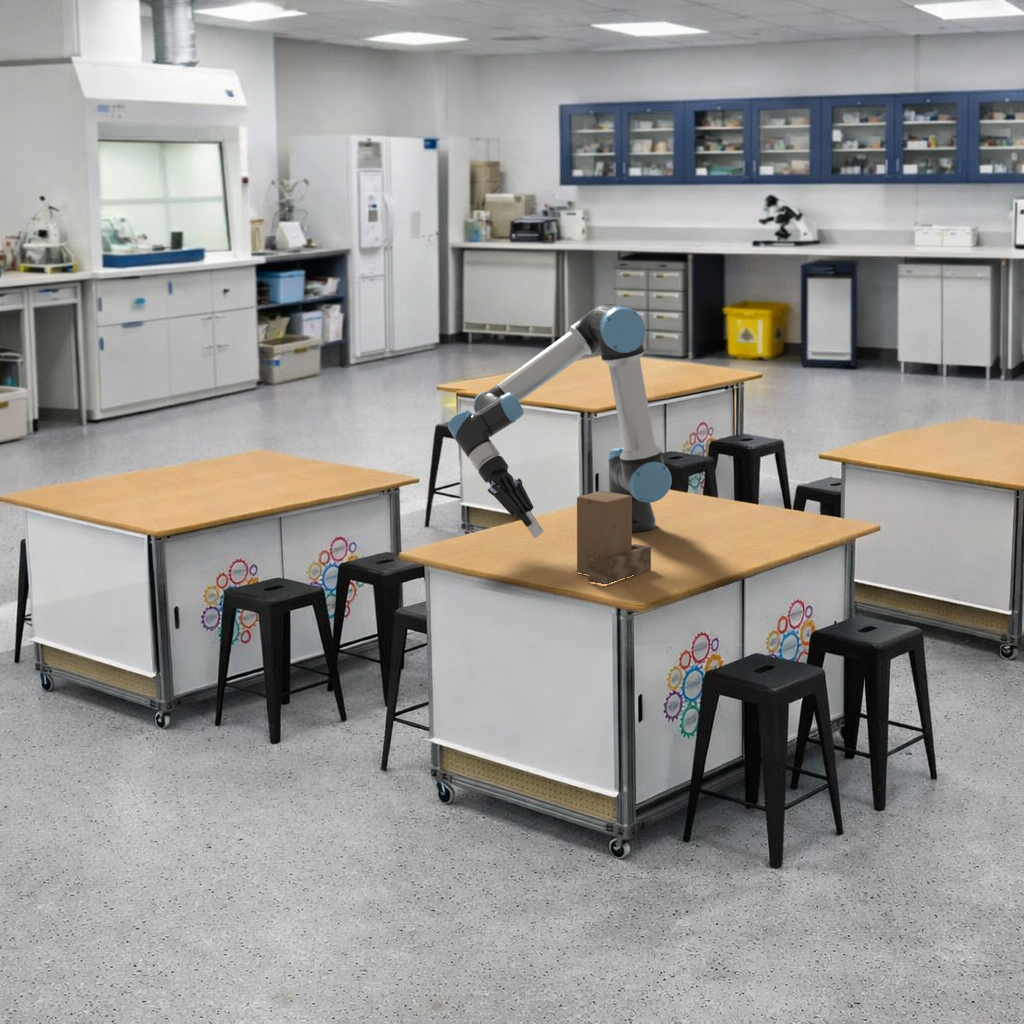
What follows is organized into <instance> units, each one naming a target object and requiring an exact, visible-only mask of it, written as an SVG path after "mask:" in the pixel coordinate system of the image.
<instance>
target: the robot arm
mask: <svg viewBox="0 0 1024 1024" xmlns="http://www.w3.org/2000/svg"><path fill="white" fill-rule="evenodd" d="M646 331H647V330H646V324H645V321H644V320H643V318H642V316H641V315H640V314H639V313H638V312H637V311H635V310H634V309H633V308H630V307H629V306H625V305H617V304H615V303H604V304H601V305H598V306H596V307H594V308H592V309H591V310H590V311H588V312H587V313H586V314H585V315H584V316H582V317H581V318H579V319H578V320H577V321H576V322H575V323H573V324H571V325H570V326H569V331H568V332H567V333H566V334H563V336H562V337H560V338H558V339H557V340H556V341H555V342H553V343H552V344H551V345H549V346H548V347H546V348H545V349H544V350H542V351H541V352H540V353H537V355H536V356H534V357H533V358H531V359H530V360H529V361H528V362H526V363H524V364H523V365H522V366H520V367H519V368H518V369H517V370H515V371H514V372H512V373H511V374H510V375H509V376H507V377H505V378H504V379H503V380H502V381H500V382H499V383H498V384H496V385H495V386H494V387H492V388H490V389H489V390H488V391H483V392H480V393H478V394H477V395H476V396H475V397H474V400H473V404H472V407H473V410H474V412H475V413H473V412H471V411H470V410H466V409H465V410H462V411H461V412H460V411H459V412H458V413H456V414H455V415H453V416H452V417H451V419H450V420H449V421H448V425H447V429H448V430H449V432H450V433H451V435H452V437H453V438H454V441H455V442H456V443H457V445H459V447H460V449H461V450H462V452H464V454H465V455H466V458H468V459H469V461H470V462H471V464H472V465H473V467H474V468H475V470H477V471H478V474H479V475H480V477H481V478H482V480H483V482H485V483H489V485H490V487H489V488H488V489H487V492H488V493H489V494H491V495H492V496H493V497H494V498H495V499H496V500H497V501H498V503H499V504H501V506H502V507H503V508H504V509H505V510H506V511H507V512H508V513H509V515H511V516H512V517H514V518H515V519H516V520H519V519H520V520H521V522H522V523H523V524H524V526H525V527H526V529H528V531H529V533H530V534H531V535H532V536H533V538H534V539H535V538H538V537H539V536H540V535H542V534H543V533H544V532H545V531H544V529H543V527H542V526H541V525H540V523H539V522H538V521H537V519H536V517H535V516H534V514H533V513H532V510H533V509H534V508H535V507H534V505H533V504H532V501H531V500H530V497H529V495H528V493H527V491H526V489H525V487H524V485H523V481H522V479H521V478H519V477H518V479H515V478H514V477H513V476H512V475H511V474H510V473H509V471H508V470H509V465H508V463H507V462H506V460H505V459H504V457H503V456H501V454H500V451H499V450H498V449H497V448H496V446H495V445H494V443H493V442H492V441H491V439H490V438H491V437H493V436H494V435H496V434H498V433H499V432H500V431H502V430H504V429H506V428H507V427H509V426H510V425H512V424H514V423H516V421H517V420H519V419H520V418H522V417H523V415H524V412H525V411H524V409H523V407H522V405H521V402H522V401H523V400H524V399H526V398H527V397H528V396H530V395H531V394H532V393H534V392H535V391H537V390H538V389H539V388H541V387H542V386H544V385H545V384H546V383H548V382H549V381H551V380H552V379H553V378H554V377H556V376H557V375H559V374H560V373H561V372H563V371H564V370H565V369H566V368H568V367H569V366H571V365H572V364H574V363H575V362H576V361H578V360H579V359H581V358H582V357H583V356H585V355H592V354H593V353H595V352H596V351H600V357H601V360H602V362H604V363H605V364H606V365H608V369H609V375H610V380H611V386H612V390H613V396H614V397H613V398H614V401H615V402H614V403H615V407H616V413H617V418H618V423H619V424H618V425H619V429H620V435H621V440H622V446H621V447H614V448H611V449H610V451H609V452H608V453H609V454H608V460H607V461H608V492H612V493H618V494H624V495H630V496H632V533H640V532H647V531H650V530H653V529H655V528H656V516H655V514H654V511H653V508H652V507H653V506H652V504H651V503H656V502H658V501H660V500H662V499H663V498H665V496H666V495H667V494H668V493H669V491H670V489H671V486H672V474H671V472H670V470H669V467H668V466H666V465H665V462H664V457H663V451H662V448H661V447H660V446H658V445H657V444H656V442H655V436H654V431H653V426H652V420H651V413H650V409H649V403H648V397H647V392H646V387H645V386H646V385H645V380H644V375H643V374H644V373H643V370H642V369H643V368H642V364H641V363H642V362H641V358H642V357H643V355H644V354H645V347H644V340H645V338H646Z"/></svg>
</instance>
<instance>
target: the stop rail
mask: <svg viewBox="0 0 1024 1024" xmlns="http://www.w3.org/2000/svg"><path fill="white" fill-rule="evenodd" d="M650 569H651V570H652V547H651V546H648V545H643V544H636V543H632V550H631V551H628V552H625V553H622V554H619V555H617V556H614V557H611V558H608V559H605V560H601V559H595V558H593V559H590V560H589V576H588V582H589V581H590V582H595V583H601V584H609V583H611V582H614V581H618V580H620V579H623V578H627V577H630V576H632V575H636V574H638V575H640V574H639V573H641V572H644V573H646V572H648V570H649V571H651V570H650ZM645 571H646V572H645ZM641 574H642V573H641ZM636 576H637V575H636ZM630 578H631V577H630Z"/></svg>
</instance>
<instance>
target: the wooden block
mask: <svg viewBox="0 0 1024 1024" xmlns="http://www.w3.org/2000/svg"><path fill="white" fill-rule="evenodd" d="M632 533H633V532H632V496H630V495H624V494H618V493H612V492H609V491H605V490H600V491H594V492H592V493H587V494H584V495H579V496H577V497H576V573H577V572H579V573H582V574H587V575H589V560H590V559H593V558H595V559H601V560H605V559H608V558H611V557H614V556H617V555H619V554H622V553H625V552H628V551H631V550H632V545H633V541H632V540H633V538H632V537H633V534H632Z"/></svg>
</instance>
